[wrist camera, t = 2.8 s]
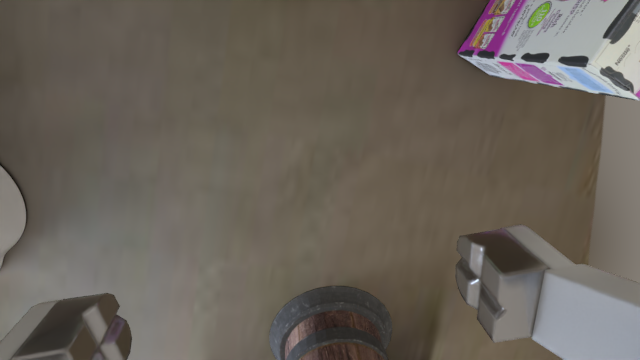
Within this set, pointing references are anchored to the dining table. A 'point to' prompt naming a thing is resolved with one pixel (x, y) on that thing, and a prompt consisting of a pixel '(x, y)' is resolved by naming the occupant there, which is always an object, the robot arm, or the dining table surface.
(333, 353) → the tankard
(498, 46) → the candy bar box
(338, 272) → the dining table surface
